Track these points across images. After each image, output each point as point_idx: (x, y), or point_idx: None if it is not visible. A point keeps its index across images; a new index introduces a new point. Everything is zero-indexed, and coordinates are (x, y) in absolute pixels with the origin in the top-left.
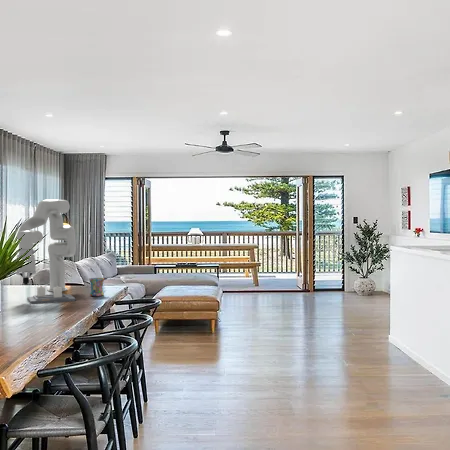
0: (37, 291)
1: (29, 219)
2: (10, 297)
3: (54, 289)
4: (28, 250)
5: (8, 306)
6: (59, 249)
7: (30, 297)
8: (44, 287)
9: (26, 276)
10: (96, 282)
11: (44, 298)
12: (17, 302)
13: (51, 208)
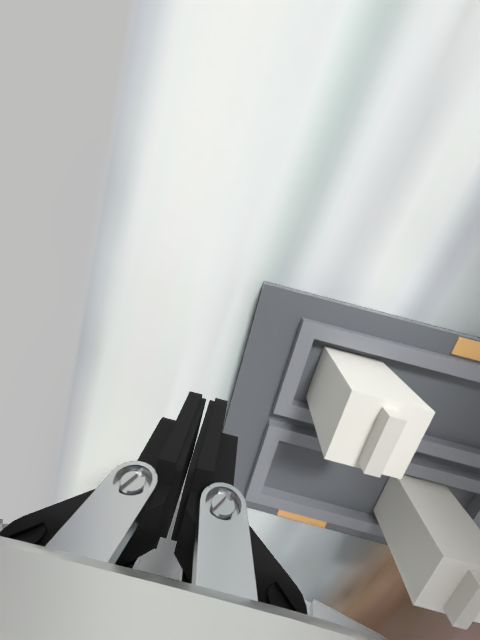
0: (325, 400)
1: None
2: (192, 5)
3: (408, 589)
4: None
5: (78, 469)
6: None
7: (274, 326)
8: (391, 475)
9: (182, 527)
10: None
11: (301, 509)
12: (160, 363)
13: None
